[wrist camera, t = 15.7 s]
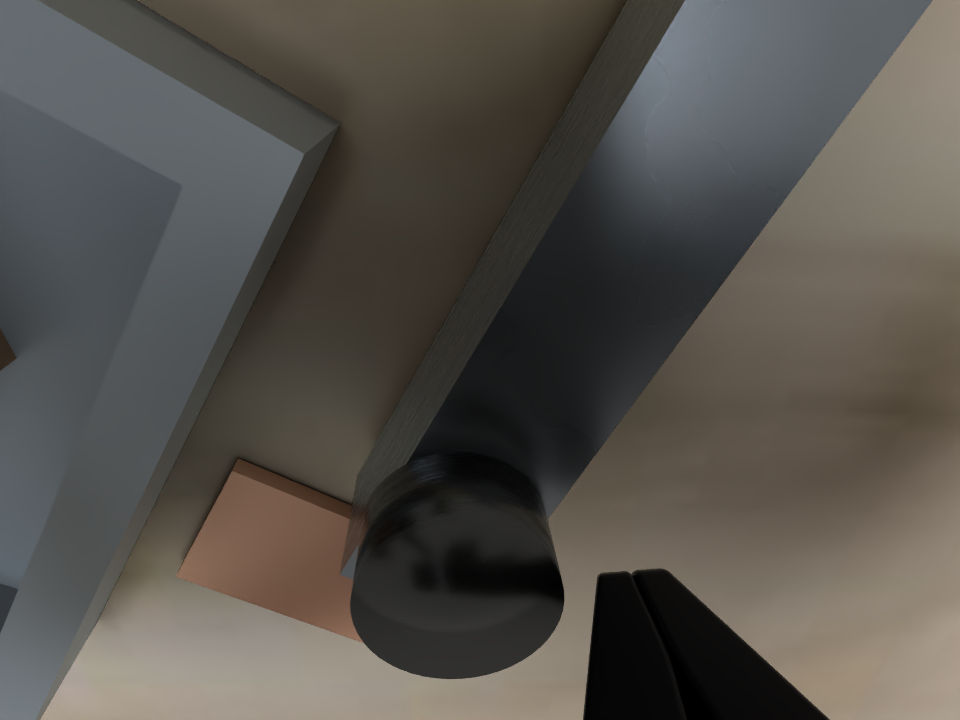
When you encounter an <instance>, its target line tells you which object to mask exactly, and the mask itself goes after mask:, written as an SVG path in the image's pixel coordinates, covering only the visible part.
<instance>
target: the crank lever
mask: <svg viewBox="0 0 960 720" xmlns="http://www.w3.org/2000/svg"><path fill="white" fill-rule="evenodd" d="M931 2H932V0H627V2H626V3H625V5H624V7H623V9H622V10H621V12H620V14H619V16H618V18H617V19H616V21H615V23H614V25H613V26H612V28H611V30H610V32H609V33H608V35H607V37H606V39H605V40H604V42H603V44H602V46H601V47H600V49H599V51H598V53H597V54H596V56H595V58H594V60H593V62H592V63H591V65H590V67H589V69H588V70H587V72H586V74H585V76H584V77H583V79H582V81H581V83H580V84H579V86H578V88H577V90H576V91H575V93H574V95H573V97H572V98H571V100H570V102H569V104H568V106H567V107H566V109H565V111H564V113H563V114H562V116H561V118H560V120H559V121H558V123H557V125H556V127H555V128H554V130H553V132H552V134H551V135H550V137H549V139H548V141H547V142H546V144H545V146H544V148H543V150H542V151H541V153H540V155H539V157H538V158H537V160H536V162H535V164H534V165H533V167H532V169H531V171H530V172H529V174H528V176H527V178H526V179H525V181H524V183H523V185H522V186H521V188H520V190H519V192H518V194H517V195H516V197H515V199H514V201H513V202H512V204H511V206H510V208H509V209H508V211H507V213H506V215H505V216H504V218H503V220H502V222H501V223H500V225H499V227H498V229H497V230H496V232H495V234H494V236H493V238H492V239H491V241H490V243H489V245H488V246H487V248H486V250H485V252H484V253H483V255H482V257H481V259H480V260H479V262H478V264H477V266H476V267H475V269H474V271H473V273H472V274H471V276H470V278H469V280H468V282H467V283H466V285H465V287H464V289H463V290H462V292H461V294H460V296H459V297H458V299H457V301H456V303H455V304H454V306H453V308H452V310H451V311H450V313H449V315H448V317H447V318H446V320H445V322H444V324H443V326H442V327H441V329H440V331H439V333H438V334H437V336H436V338H435V340H434V341H433V343H432V345H431V347H430V348H429V350H428V352H427V354H426V355H425V357H424V359H423V361H422V363H421V364H420V366H419V368H418V370H417V371H416V373H415V375H414V377H413V378H412V380H411V382H410V384H409V385H408V387H407V389H406V391H405V392H404V394H403V396H402V398H401V399H400V401H399V403H398V405H397V407H396V408H395V410H394V412H393V414H392V415H391V417H390V419H389V421H388V422H387V424H386V426H385V428H384V429H383V431H382V433H381V435H380V436H379V438H378V440H377V442H376V443H375V445H374V447H373V449H372V451H371V452H370V454H369V456H368V458H367V459H366V461H365V463H364V465H363V466H362V468H361V470H360V472H359V473H358V476H357V481H356V487H355V492H354V498H353V504H352V509H351V515H350V520H349V526H348V531H347V537H346V543H345V548H344V554H343V559H342V565H341V570H340V575H341V576H344V577H347V578H350V579H353V586H352V592H351V600H350V612H351V617H352V621H353V625H354V627H355V629H356V631H357V634H358V635H359V637H360V638H361V640H362V641H363V642H364V644H365V645H366V646H367V647H368V648H369V649H370V650H371V651H372V652H373V653H374V654H376V655H377V656H378V657H379V658H381V659H382V660H384V661H385V662H387V663H389V664H391V665H393V666H395V667H397V668H399V669H401V670H404V671H407V672H409V673H413V674H417V675H420V676H425V677H432V678H441V679H463V678H472V677H478V676H483V675H488V674H491V673H494V672H498V671H501V670H503V669H506V668H508V667H511V666H513V665H515V664H516V663H518V662H520V661H522V660H524V659H525V658H527V657H528V656H530V655H531V654H533V653H534V652H535V651H536V650H537V649H539V648H540V647H541V646H542V645H543V644H544V643H545V642H546V641H547V639H548V638H549V637H550V636H551V634H552V633H553V631H554V630H555V628H556V626H557V624H558V622H559V620H560V618H561V614H562V611H563V606H564V588H563V583H562V579H561V575H560V570H559V566H558V562H557V558H556V554H555V549H554V545H553V541H552V537H551V532H550V528H549V524H548V520H547V519H548V518H549V517H550V515H551V514H552V513H553V511H554V510H555V508H556V507H557V506H558V504H559V503H560V502H561V500H562V499H563V498H564V496H565V495H566V494H567V492H568V491H569V490H570V488H571V487H572V486H573V484H574V483H575V482H576V480H577V479H578V477H579V476H580V475H581V473H582V472H583V471H584V469H585V468H586V467H587V465H588V464H589V463H590V461H591V460H592V459H593V457H594V456H595V455H596V453H597V452H598V451H599V449H600V448H601V446H602V445H603V444H604V442H605V441H606V440H607V438H608V437H609V436H610V434H611V433H612V432H613V430H614V429H615V428H616V426H617V425H618V424H619V422H620V421H621V420H622V418H623V417H624V416H625V414H626V413H627V411H628V410H629V409H630V407H631V406H632V405H633V403H634V402H635V401H636V399H637V398H638V397H639V395H640V394H641V393H642V391H643V390H644V389H645V387H646V386H647V385H648V383H649V382H650V380H651V379H652V378H653V376H654V375H655V374H656V372H657V371H658V370H659V368H660V367H661V366H662V364H663V363H664V362H665V360H666V359H667V358H668V356H669V355H670V354H671V352H672V351H673V349H674V348H675V347H676V345H677V344H678V343H679V341H680V340H681V339H682V337H683V336H684V335H685V333H686V332H687V331H688V329H689V328H690V327H691V325H692V324H693V323H694V321H695V320H696V318H697V317H698V316H699V314H700V313H701V312H702V310H703V309H704V308H705V306H706V305H707V304H708V302H709V301H710V300H711V298H712V297H713V296H714V294H715V293H716V292H717V290H718V289H719V287H720V286H721V285H722V283H723V282H724V281H725V279H726V278H727V277H728V275H729V274H730V273H731V271H732V270H733V269H734V267H735V266H736V265H737V263H738V262H739V261H740V259H741V258H742V256H743V255H744V254H745V252H746V251H747V250H748V248H749V247H750V246H751V244H752V243H753V242H754V240H755V239H756V238H757V236H758V235H759V234H760V232H761V231H762V230H763V228H764V227H765V225H766V224H767V223H768V221H769V220H770V219H771V217H772V216H773V215H774V213H775V212H776V211H777V209H778V208H779V207H780V205H781V204H782V203H783V201H784V200H785V199H786V197H787V196H788V194H789V193H790V192H791V190H792V189H793V188H794V186H795V185H796V184H797V182H798V181H799V180H800V178H801V177H802V176H803V174H804V173H805V172H806V170H807V169H808V168H809V166H810V165H811V163H812V162H813V161H814V159H815V158H816V157H817V155H818V154H819V153H820V151H821V150H822V149H823V147H824V146H825V145H826V143H827V142H828V141H829V139H830V138H831V137H832V135H833V134H834V132H835V131H836V130H837V128H838V127H839V126H840V124H841V123H842V122H843V120H844V119H845V118H846V116H847V115H848V114H849V112H850V111H851V110H852V108H853V107H854V106H855V104H856V103H857V101H858V100H859V99H860V97H861V96H862V95H863V93H864V92H865V91H866V89H867V88H868V87H869V85H870V84H871V83H872V81H873V80H874V79H875V77H876V76H877V75H878V73H879V72H880V70H881V69H882V68H883V66H884V65H885V64H886V62H887V61H888V60H889V58H890V57H891V56H892V54H893V53H894V52H895V50H896V49H897V48H898V46H899V45H900V44H901V42H902V41H903V39H904V38H905V37H906V35H907V34H908V33H909V31H910V30H911V29H912V27H913V26H914V25H915V23H916V22H917V21H918V19H919V18H920V17H921V15H922V14H923V13H924V11H925V10H926V8H927V7H928V6H929V4H930V3H931Z"/></svg>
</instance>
